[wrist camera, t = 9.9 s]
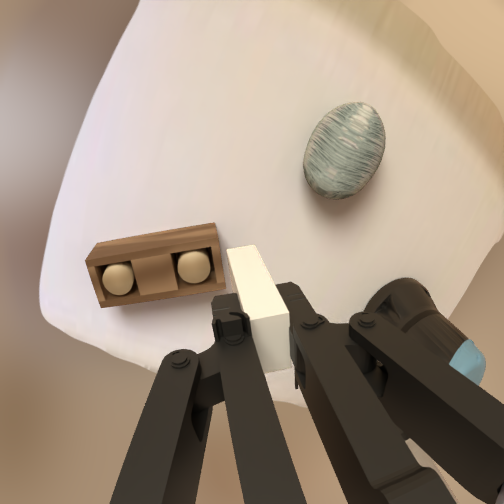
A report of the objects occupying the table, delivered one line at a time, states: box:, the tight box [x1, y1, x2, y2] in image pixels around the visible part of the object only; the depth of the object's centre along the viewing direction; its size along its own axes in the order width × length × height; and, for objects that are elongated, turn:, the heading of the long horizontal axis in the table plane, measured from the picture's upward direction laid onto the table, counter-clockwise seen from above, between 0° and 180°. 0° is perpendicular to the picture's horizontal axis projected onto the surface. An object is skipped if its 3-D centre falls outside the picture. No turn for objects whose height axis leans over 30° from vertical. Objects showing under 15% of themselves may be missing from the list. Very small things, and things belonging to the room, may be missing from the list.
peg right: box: [178, 247, 210, 283], centre depth 41 cm, size 4×4×5 cm
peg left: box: [103, 260, 135, 295], centre depth 40 cm, size 4×4×5 cm
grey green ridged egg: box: [303, 102, 385, 199], centre depth 39 cm, size 14×10×10 cm
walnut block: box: [85, 223, 226, 308], centre depth 41 cm, size 7×17×6 cm, turn 96°
